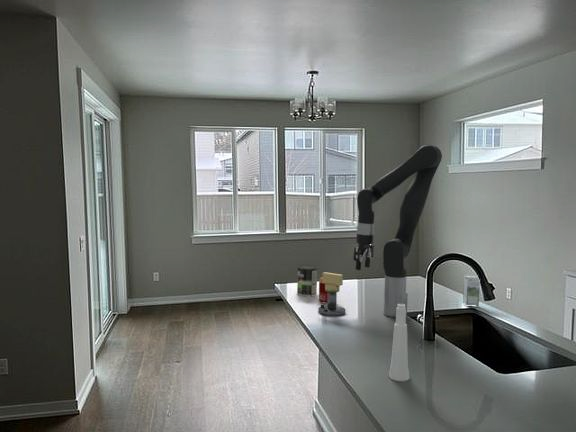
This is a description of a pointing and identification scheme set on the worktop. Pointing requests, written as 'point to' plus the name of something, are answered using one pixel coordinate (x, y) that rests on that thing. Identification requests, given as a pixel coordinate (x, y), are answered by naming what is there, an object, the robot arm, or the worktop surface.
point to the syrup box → (471, 290)
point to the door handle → (332, 281)
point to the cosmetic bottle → (399, 347)
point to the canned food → (322, 293)
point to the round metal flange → (331, 306)
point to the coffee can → (307, 280)
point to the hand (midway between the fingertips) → (362, 268)
